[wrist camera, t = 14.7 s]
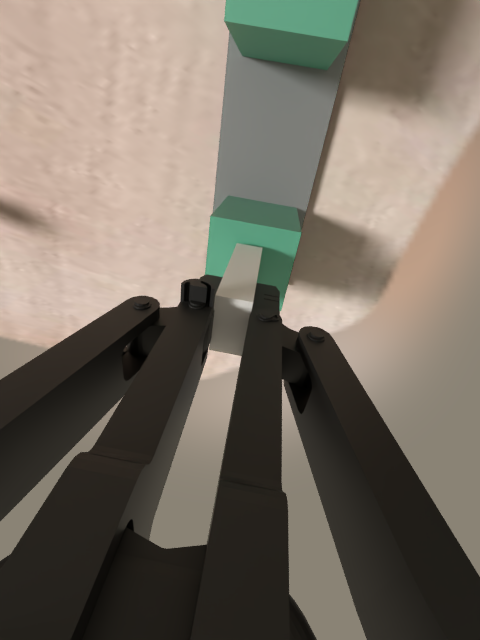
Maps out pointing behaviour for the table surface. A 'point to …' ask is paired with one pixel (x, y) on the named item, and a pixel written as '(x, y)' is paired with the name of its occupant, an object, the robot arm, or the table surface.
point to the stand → (279, 96)
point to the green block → (255, 238)
